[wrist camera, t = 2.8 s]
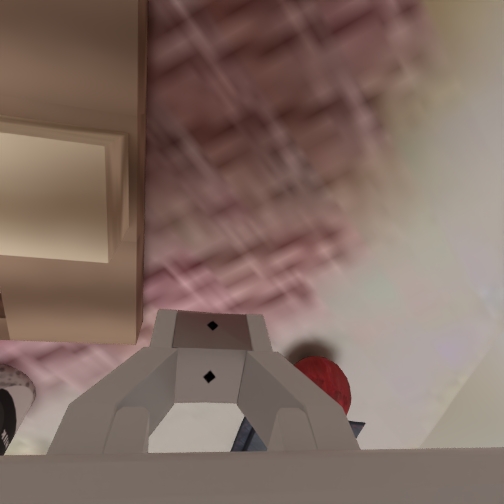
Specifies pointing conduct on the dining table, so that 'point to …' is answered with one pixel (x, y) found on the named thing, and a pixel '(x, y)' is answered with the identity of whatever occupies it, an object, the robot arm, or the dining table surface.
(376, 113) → the dining table surface
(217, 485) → the robot arm
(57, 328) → the board
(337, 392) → the onion
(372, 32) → the dining table surface
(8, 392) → the mug
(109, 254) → the birch block
